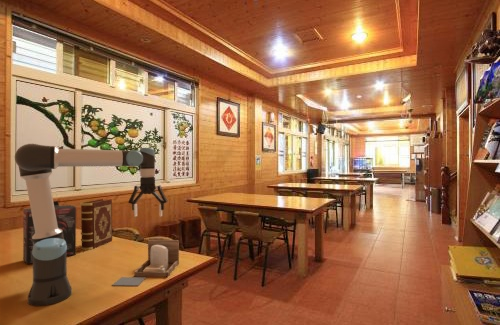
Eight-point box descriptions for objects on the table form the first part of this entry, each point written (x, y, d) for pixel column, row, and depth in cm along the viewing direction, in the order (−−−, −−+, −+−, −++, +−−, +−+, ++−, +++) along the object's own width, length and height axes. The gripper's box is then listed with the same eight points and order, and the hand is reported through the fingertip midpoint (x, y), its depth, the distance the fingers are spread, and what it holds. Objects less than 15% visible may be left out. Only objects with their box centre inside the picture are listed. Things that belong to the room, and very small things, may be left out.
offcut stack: (161, 276, 144) (161, 269, 144) (141, 276, 145) (141, 269, 145) (165, 271, 151) (165, 264, 151) (146, 271, 151) (146, 264, 151)
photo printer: (169, 268, 155) (169, 245, 155) (163, 271, 151) (163, 247, 151) (155, 265, 160) (155, 242, 160) (149, 268, 156) (148, 244, 156)
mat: (137, 286, 134) (137, 285, 134) (112, 285, 134) (112, 284, 134) (145, 278, 143) (145, 277, 143) (121, 277, 143) (121, 277, 143)
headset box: (70, 250, 188) (70, 198, 187) (77, 255, 179) (76, 200, 179) (22, 260, 170) (22, 202, 170) (26, 265, 161) (26, 205, 161)
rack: (168, 277, 144) (167, 250, 144) (134, 276, 144) (134, 250, 144) (178, 263, 163) (178, 240, 162) (149, 263, 163) (148, 240, 163)
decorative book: (89, 250, 188) (89, 203, 188) (78, 249, 190) (78, 203, 189) (112, 241, 210) (112, 199, 210) (102, 240, 212) (102, 198, 211)
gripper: (172, 175, 161) (173, 214, 162) (127, 176, 162) (128, 215, 162) (168, 176, 154) (169, 217, 154) (121, 177, 154) (122, 217, 154)
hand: (148, 216), depth 158 cm, fingers open, 13 cm apart
